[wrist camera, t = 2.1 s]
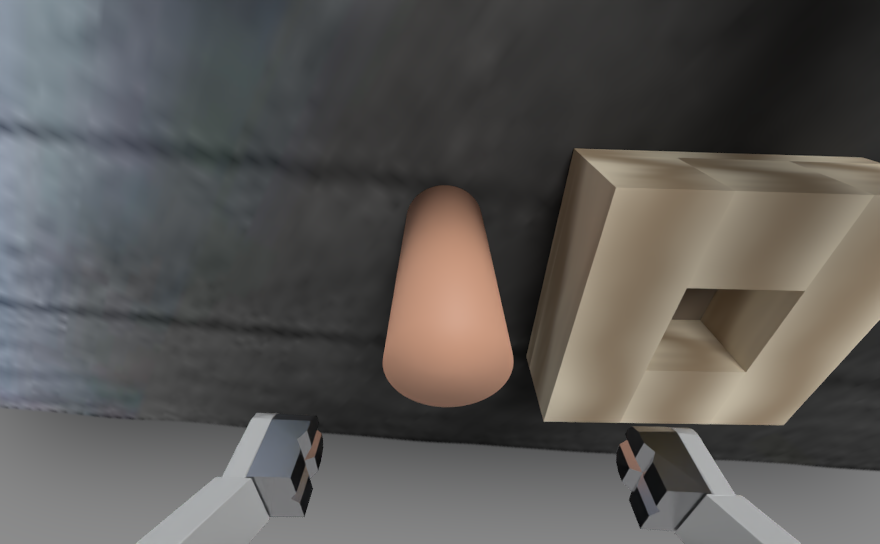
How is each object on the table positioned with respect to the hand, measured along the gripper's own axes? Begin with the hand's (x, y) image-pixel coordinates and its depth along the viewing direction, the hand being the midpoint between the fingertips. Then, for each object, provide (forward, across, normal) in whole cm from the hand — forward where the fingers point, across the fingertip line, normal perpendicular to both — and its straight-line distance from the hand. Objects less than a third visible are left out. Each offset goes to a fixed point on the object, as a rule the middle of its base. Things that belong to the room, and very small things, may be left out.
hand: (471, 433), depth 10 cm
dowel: (+12, +1, 0) cm, 12 cm away
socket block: (+12, -12, +3) cm, 18 cm away
